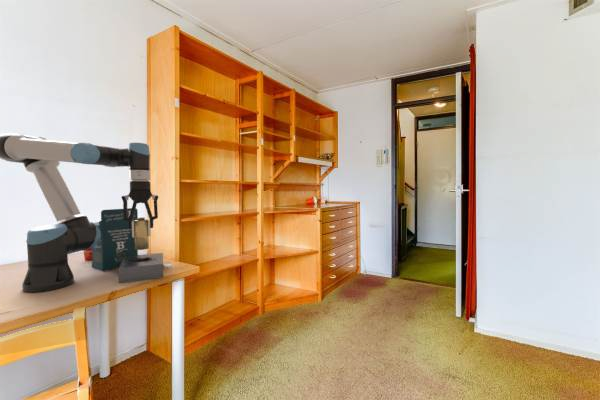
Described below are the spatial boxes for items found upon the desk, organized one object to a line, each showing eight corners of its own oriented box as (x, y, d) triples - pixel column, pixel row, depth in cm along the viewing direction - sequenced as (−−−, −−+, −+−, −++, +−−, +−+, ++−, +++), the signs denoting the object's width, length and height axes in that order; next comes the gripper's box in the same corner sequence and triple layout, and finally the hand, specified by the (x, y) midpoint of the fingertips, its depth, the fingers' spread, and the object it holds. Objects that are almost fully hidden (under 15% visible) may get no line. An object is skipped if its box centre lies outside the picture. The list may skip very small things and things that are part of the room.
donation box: (102, 271, 131) (100, 210, 130) (87, 265, 140) (86, 208, 139) (139, 263, 145) (137, 207, 143) (123, 259, 154) (122, 206, 152)
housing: (118, 283, 116) (118, 268, 115) (125, 268, 136) (124, 256, 135) (163, 277, 123) (162, 263, 122) (163, 265, 142) (162, 252, 142)
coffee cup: (78, 260, 150) (77, 231, 150) (93, 256, 158) (92, 229, 157) (90, 261, 148) (89, 232, 147) (105, 257, 156) (104, 230, 155)
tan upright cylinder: (134, 250, 118) (133, 218, 118) (135, 248, 123) (134, 217, 122) (148, 249, 120) (147, 218, 120) (149, 246, 125) (148, 216, 124)
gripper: (112, 180, 113) (114, 239, 114) (164, 180, 121) (165, 236, 122) (115, 180, 120) (117, 236, 121) (164, 181, 128) (165, 233, 129)
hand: (141, 236), depth 121 cm, fingers closed on tan upright cylinder, 5 cm apart
